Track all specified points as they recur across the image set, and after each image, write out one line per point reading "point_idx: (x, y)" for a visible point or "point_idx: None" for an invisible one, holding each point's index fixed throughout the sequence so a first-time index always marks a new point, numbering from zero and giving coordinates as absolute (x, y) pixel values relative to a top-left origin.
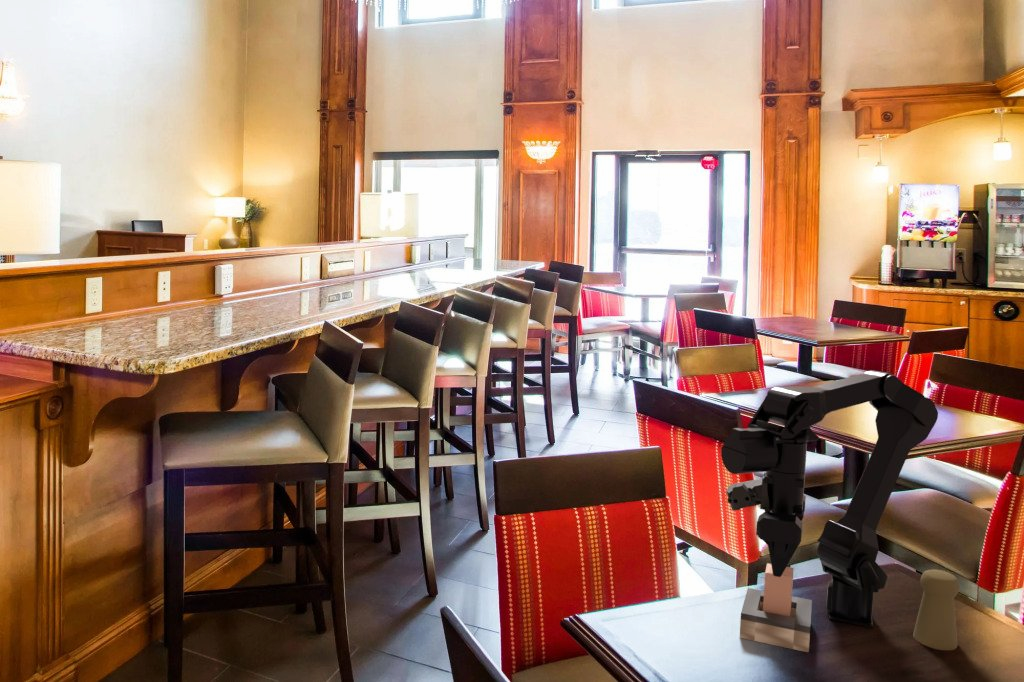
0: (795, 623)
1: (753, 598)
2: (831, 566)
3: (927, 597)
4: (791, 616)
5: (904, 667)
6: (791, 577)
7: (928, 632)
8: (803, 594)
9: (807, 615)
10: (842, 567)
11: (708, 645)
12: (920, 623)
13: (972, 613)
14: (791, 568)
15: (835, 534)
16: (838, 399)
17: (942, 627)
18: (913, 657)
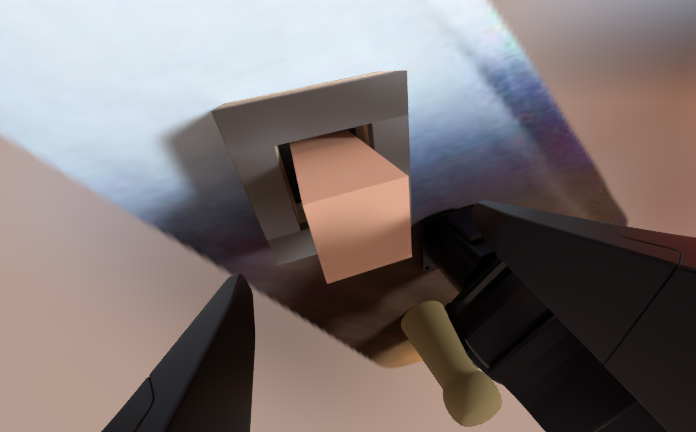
0: (271, 240)
1: (342, 111)
2: (496, 282)
3: (447, 372)
4: None
5: (330, 321)
6: (326, 280)
7: (412, 333)
8: (504, 155)
9: None
10: (473, 321)
11: (98, 35)
12: (425, 329)
13: None
14: (403, 254)
15: (589, 365)
16: None
17: (417, 351)
18: (364, 318)
